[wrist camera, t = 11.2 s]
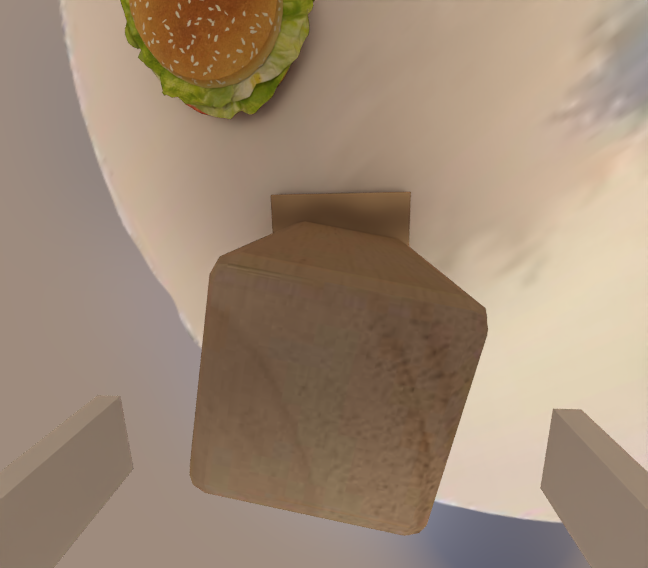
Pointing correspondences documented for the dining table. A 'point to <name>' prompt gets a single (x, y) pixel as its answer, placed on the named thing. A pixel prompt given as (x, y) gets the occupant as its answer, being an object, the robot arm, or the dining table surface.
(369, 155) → the dining table surface
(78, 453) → the robot arm
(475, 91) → the dining table surface
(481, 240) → the dining table surface
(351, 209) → the board
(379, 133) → the dining table surface
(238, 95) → the food
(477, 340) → the wooden block
